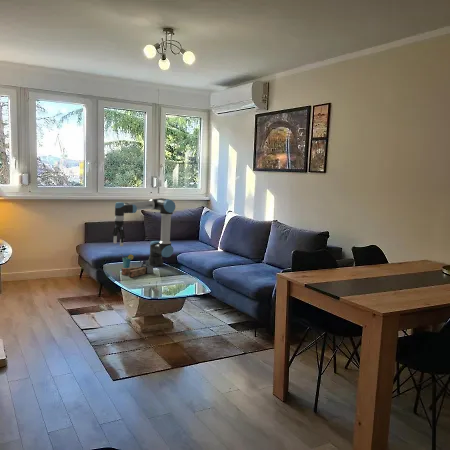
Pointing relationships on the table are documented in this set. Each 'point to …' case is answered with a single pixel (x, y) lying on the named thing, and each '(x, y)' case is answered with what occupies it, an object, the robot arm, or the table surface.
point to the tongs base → (126, 270)
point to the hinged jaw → (137, 272)
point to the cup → (126, 260)
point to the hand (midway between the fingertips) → (118, 244)
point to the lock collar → (148, 267)
